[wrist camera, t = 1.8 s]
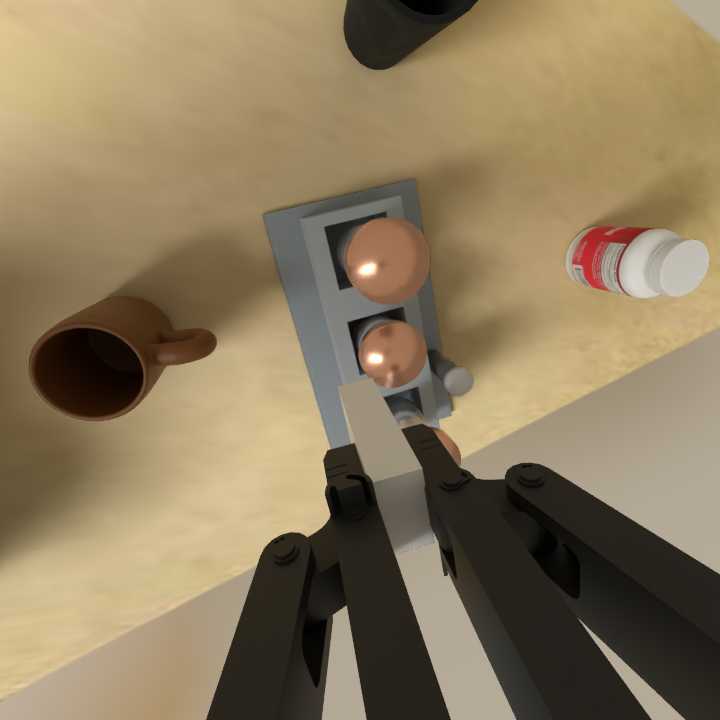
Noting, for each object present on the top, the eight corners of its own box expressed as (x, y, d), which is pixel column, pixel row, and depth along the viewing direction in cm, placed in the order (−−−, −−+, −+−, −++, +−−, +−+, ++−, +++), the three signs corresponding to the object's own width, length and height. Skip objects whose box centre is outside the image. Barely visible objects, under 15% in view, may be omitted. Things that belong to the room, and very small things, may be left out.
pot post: (422, 372, 43) (448, 399, 37) (418, 350, 42) (444, 373, 36) (445, 365, 44) (474, 391, 37) (441, 343, 43) (471, 365, 36)
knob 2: (376, 448, 40) (402, 503, 33) (364, 400, 38) (389, 448, 31) (427, 431, 41) (464, 482, 33) (418, 384, 39) (456, 426, 31)
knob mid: (350, 361, 41) (369, 395, 33) (337, 310, 39) (355, 334, 31) (400, 346, 42) (431, 377, 34) (391, 295, 40) (421, 315, 32)
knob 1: (337, 291, 34) (359, 314, 27) (322, 225, 32) (339, 229, 25) (398, 275, 35) (436, 292, 27) (386, 209, 33) (423, 208, 25)
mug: (213, 278, 36) (197, 298, 28) (234, 357, 39) (226, 397, 31) (69, 302, 35) (3, 332, 26) (101, 383, 37) (52, 434, 29)
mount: (331, 450, 45) (338, 477, 40) (262, 214, 36) (261, 214, 31) (449, 413, 47) (469, 435, 42) (412, 179, 37) (433, 174, 33)
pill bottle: (622, 233, 44) (730, 239, 34) (600, 289, 45) (696, 311, 35) (575, 219, 42) (674, 221, 32) (554, 278, 44) (641, 298, 34)
